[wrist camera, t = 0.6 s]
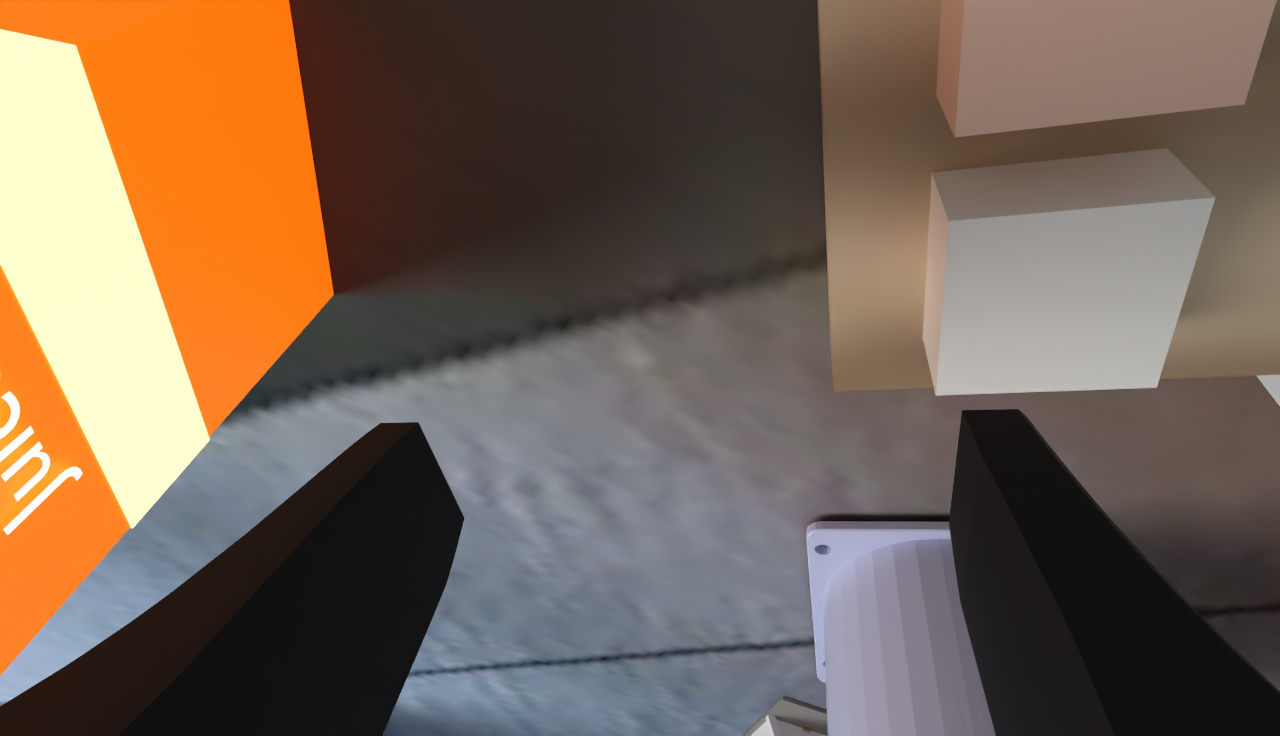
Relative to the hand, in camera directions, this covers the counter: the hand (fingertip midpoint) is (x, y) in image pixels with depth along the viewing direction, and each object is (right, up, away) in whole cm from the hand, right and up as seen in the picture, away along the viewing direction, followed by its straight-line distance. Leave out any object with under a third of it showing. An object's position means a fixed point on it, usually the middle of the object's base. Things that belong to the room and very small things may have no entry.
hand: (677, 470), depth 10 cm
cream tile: (+7, +4, +5) cm, 10 cm away
